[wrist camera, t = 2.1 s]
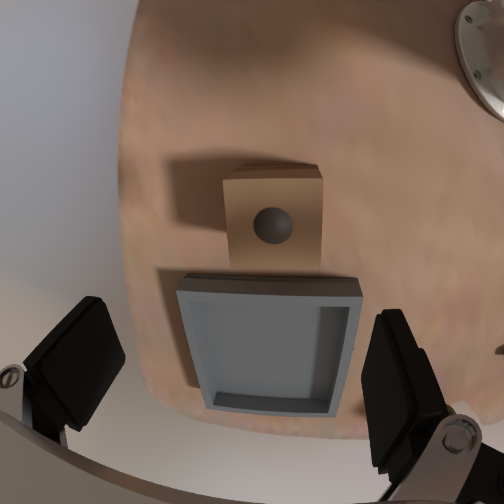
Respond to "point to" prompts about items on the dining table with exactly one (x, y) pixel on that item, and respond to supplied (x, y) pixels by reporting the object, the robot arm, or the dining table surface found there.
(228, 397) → the tray
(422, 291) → the dining table surface
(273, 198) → the walnut block
